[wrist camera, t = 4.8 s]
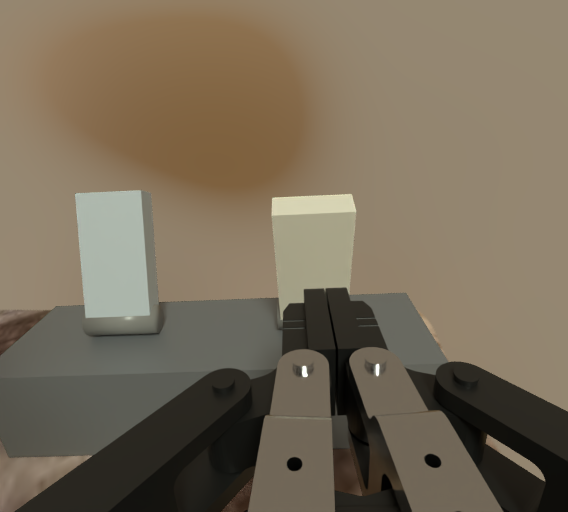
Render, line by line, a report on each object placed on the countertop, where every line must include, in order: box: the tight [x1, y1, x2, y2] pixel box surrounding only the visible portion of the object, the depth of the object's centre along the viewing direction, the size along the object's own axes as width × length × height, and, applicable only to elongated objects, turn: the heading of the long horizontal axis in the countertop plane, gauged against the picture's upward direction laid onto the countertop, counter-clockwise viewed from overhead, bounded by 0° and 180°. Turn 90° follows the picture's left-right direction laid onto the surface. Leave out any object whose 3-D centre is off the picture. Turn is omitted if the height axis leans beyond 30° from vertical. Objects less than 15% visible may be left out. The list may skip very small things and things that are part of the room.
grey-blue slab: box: [75, 190, 163, 336], centre depth 24 cm, size 4×2×9 cm, turn 89°
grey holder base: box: [0, 293, 448, 457], centre depth 25 cm, size 26×8×6 cm, turn 89°
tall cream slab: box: [272, 194, 356, 329], centre depth 21 cm, size 4×2×9 cm, turn 89°
